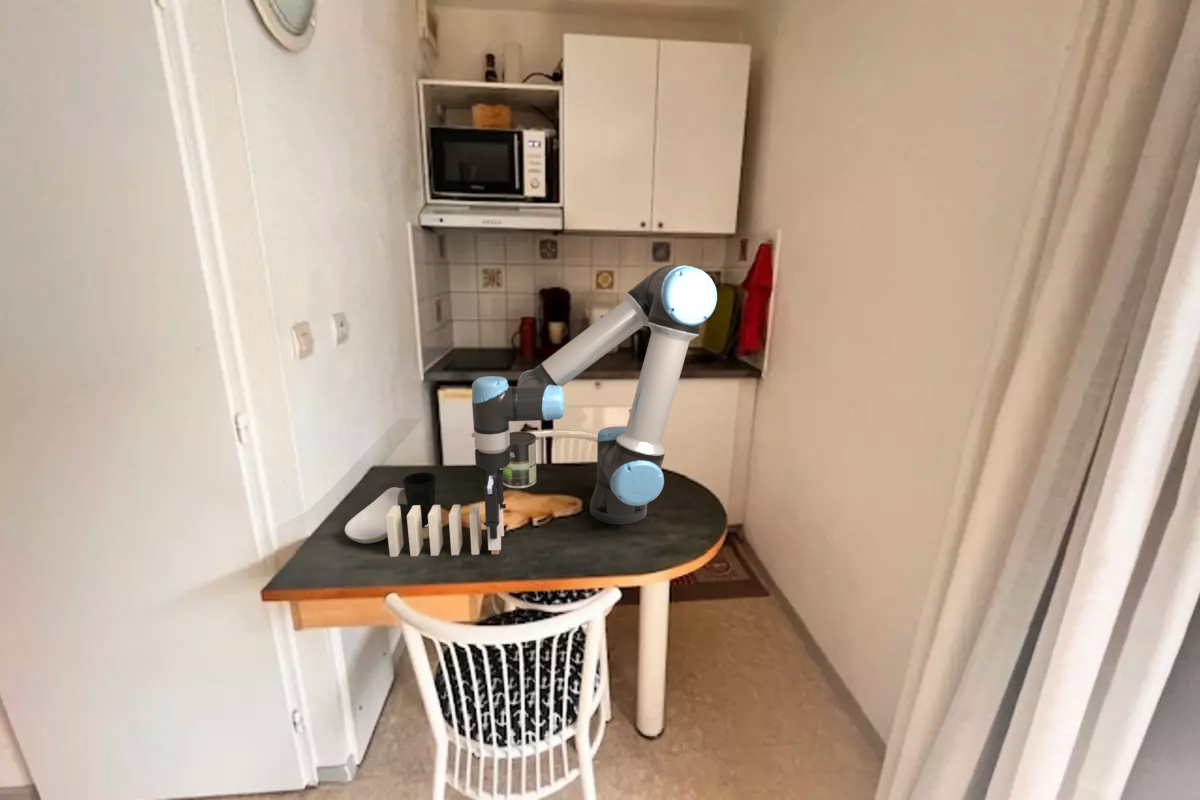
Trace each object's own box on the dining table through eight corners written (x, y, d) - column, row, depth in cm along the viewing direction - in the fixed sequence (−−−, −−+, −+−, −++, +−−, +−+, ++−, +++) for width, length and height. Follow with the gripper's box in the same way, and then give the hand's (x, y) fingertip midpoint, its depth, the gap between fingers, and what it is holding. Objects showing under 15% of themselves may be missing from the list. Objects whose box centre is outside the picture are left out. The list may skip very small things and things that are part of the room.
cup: (406, 517, 134) (402, 474, 131) (437, 513, 137) (434, 470, 133) (407, 532, 127) (402, 486, 124) (439, 527, 130) (436, 482, 127)
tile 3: (443, 543, 122) (440, 504, 120) (438, 555, 117) (435, 515, 115) (436, 543, 122) (433, 505, 120) (431, 555, 117) (427, 515, 115)
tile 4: (423, 544, 122) (420, 505, 119) (417, 556, 117) (414, 515, 115) (416, 544, 122) (413, 505, 119) (410, 556, 117) (406, 515, 114)
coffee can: (514, 491, 150) (513, 445, 146) (495, 480, 157) (493, 436, 153) (543, 482, 156) (543, 437, 153) (524, 471, 164) (522, 429, 160)
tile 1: (482, 542, 123) (480, 504, 120) (478, 554, 118) (476, 514, 115) (475, 543, 123) (473, 504, 120) (471, 554, 118) (469, 514, 115)
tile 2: (462, 543, 123) (460, 504, 120) (458, 555, 118) (456, 514, 115) (455, 543, 122) (453, 504, 120) (451, 555, 118) (448, 515, 115)
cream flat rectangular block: (403, 544, 122) (400, 505, 119) (397, 556, 117) (393, 516, 114) (396, 544, 122) (392, 505, 119) (389, 556, 117) (385, 516, 114)
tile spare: (501, 542, 123) (499, 504, 121) (498, 554, 118) (496, 514, 116) (494, 542, 123) (492, 504, 120) (491, 554, 118) (489, 514, 116)
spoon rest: (385, 552, 119) (382, 524, 117) (336, 549, 120) (332, 521, 118) (426, 504, 142) (424, 480, 140) (385, 502, 143) (382, 478, 141)
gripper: (481, 433, 123) (485, 522, 129) (467, 463, 105) (473, 565, 111) (513, 433, 123) (516, 522, 129) (505, 463, 106) (508, 564, 112)
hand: (496, 541), depth 120 cm, fingers open, 5 cm apart
